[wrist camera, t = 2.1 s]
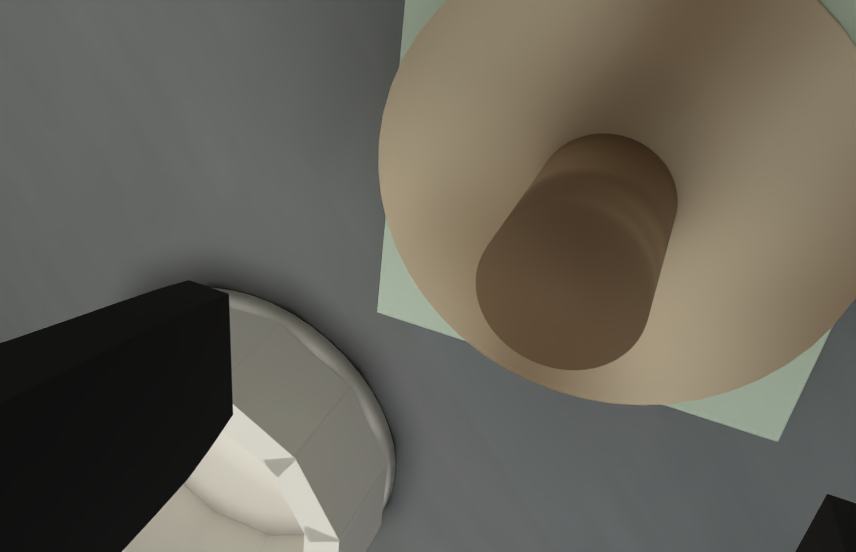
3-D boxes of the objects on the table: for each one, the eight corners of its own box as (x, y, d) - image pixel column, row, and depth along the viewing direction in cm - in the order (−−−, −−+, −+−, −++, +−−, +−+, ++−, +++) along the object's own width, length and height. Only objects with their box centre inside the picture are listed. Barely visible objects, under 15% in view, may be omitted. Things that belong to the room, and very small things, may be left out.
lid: (996, -20, 12) (1098, 46, 8) (777, 441, 18) (777, 613, 14) (416, -115, 15) (288, -99, 11) (377, 311, 20) (281, 425, 16)
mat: (991, -24, 13) (997, -20, 12) (777, 430, 18) (777, 442, 17) (422, -116, 15) (415, -115, 15) (383, 304, 20) (376, 312, 20)
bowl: (411, 347, 21) (347, 436, 18) (382, 580, 26) (329, 680, 23) (111, 248, 23) (10, 310, 20) (140, 478, 28) (63, 555, 25)
